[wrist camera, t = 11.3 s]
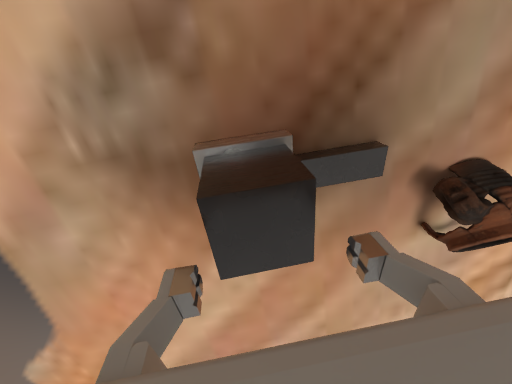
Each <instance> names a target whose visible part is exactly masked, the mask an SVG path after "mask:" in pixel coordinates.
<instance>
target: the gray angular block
mask: <svg viewBox="0 0 512 384" xmlns="http://www.w3.org/2000/svg"><path fill="white" fill-rule="evenodd" d="M282 144H286V145H287V147H288V148H289V149H290V150H291V151H292V152H293V136H292V134H290V133H289V132H288V131H287V130H279V131H273V132H266V133H260V134H253V135H247V136H241V137H234V138H228V139H221V140H215V141H208V142H202V143H195V145H194V148H193V151H192V152H193V155H194V159H195V162H196V166H197V170H198V173H199V177H201V171H202V166H203V160H204V157H206V156H213V155H219V154H225V153H232V152H238V151H244V150H250V149H257V148H263V147H269V146H275V145H282ZM387 150H388V146H387V145H384V144H382V143H380V142H377V141H376V142H370V143H364V144H358V145H352V146H346V147H340V148H334V149H327V150H321V151H315V152H309V153H303V154H297V155H296V156H297V158H298V159H299V160H300V161H301V162H302V163H303V164H304V165H305V166H306V168H307V169H308V170H309V171H310V172H311V173H312V174H313V175H314V176H315V178H316V188H317V187H322V186H328V185H334V184H339V183H345V182H351V181H356V180H362V179H368V178H373V177H379V176H382V175H383V170H384V165H385V160H386V155H387Z"/></svg>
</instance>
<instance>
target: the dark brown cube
mask: <svg viewBox="0 0 512 384" xmlns="http://www.w3.org/2000/svg"><path fill="white" fill-rule="evenodd" d="M315 201H316V178H315V176H314V175H313V174H312V173H311V172H310V171H309V170H308V169H307V168H306V166H305V165H304V164H303V163H302V162H301V161H300V160H299V159H298V158H297V156H296V155H295V154H294V153H293V152H292V151H291V150H290V149H289V148H288V147H287V145H286V144H282V145H275V146H269V147H263V148H257V149H250V150H244V151H238V152H232V153H225V154H219V155H213V156H206V157H204V160H203V166H202V171H201V177H200V182H199V188H198V193H197V203H198V206H199V209H200V213H201V216H202V219H203V223H204V226H205V229H206V232H207V236H208V239H209V242H210V246H211V249H212V252H213V256H214V259H215V262H216V266H217V269H218V272H219V276H220V279H221V280H223V279H228V278H233V277H238V276H243V275H248V274H253V273H258V272H263V271H268V270H273V269H278V268H283V267H288V266H293V265H298V264H303V263H308V262H313V261H314V232H315Z"/></svg>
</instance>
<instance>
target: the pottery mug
mask: <svg viewBox="0 0 512 384" xmlns="http://www.w3.org/2000/svg"><path fill="white" fill-rule="evenodd" d="M449 169H450V171H452V172H454V173H455V174H456V175H457V176H458V177H449V178H444V179H442V180H440V181H439V182H438V183H437V185H436V186H435V187H434V189H433V192H434V193H435V194H436V197H437V198H438V199H439V200H440V201H441V202H442V203H443V205H444V208H445V210H446V211H447V212H448V215H449V216H450V217H451V218H452V219H454V220H455V221H457V222H458V223H460V224H462V225H471V224H473V225H471V226H470V227H469V228H468V229H465V228H463V227H458V228H456V229H455V230H453V231H449V232H447V233H446V234H445V233H438V232H435V231H434V230H433V229H432V228H431V227H430V226H429V225H428V224H427V223H422V224H421V226H422V227H423V228H424V230H425V231H427V233H428V234H429V235H431V236H432V237H433V238H435V239H437V240H438V241H441V242H443V243H445V244H446V246H447V248H448V250H449V251H452V252H464V251H471V250H476V249H481V248H486V247H490V246H495V245H500V244H504V243H508V242H512V177H511V176H510V174H509V173H507V172H506V171H505V170H503V169H501V168H499V167H497V166H495V165H493V164H492V163H491V162H489V161H488V160H481V159H476V160H469V161H465V162H462V163H459V164H456V165H453V166H451V167H450V168H449ZM487 194H489V195H490V196H492V197H493V198H495V199H496V200H497V201H498V202H494V203H491V202H490V201H489V200H487V199H484V198H485V196H486V195H487Z"/></svg>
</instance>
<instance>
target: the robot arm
mask: <svg viewBox="0 0 512 384" xmlns="http://www.w3.org/2000/svg"><path fill="white" fill-rule="evenodd" d="M348 243H349V244H350V245H349V246H348V247H347V252H346V253H347V258H348V260H349V262H350V264H351V265H352V266H353V267H355V268H357V270H356V273H357V274H358V276H359V278H360V279H361V281H362V282H363V283H367V282H373V281H379V280H380V282H381V283H383V284H384V285H385V286H387V287H388V288H390V289H391V290H393V291H394V292H396V293H397V294H398V295H400V296H401V297H403V298H404V299H406V300H407V301H409V302H410V303H412V304H413V305H414V306H416V307H417V310H416V312H415V314H414V317H413V318H408V319H404V320H399V321H394V322H389V323H385V324H380V325H375V326H370V327H365V328H361V329H356V330H351V331H346V332H341V333H337V334H332V335H327V336H322V337H317V338H313V339H308V340H303V341H298V342H294V343H289V344H284V345H279V346H274V347H270V348H265V349H260V350H255V351H251V352H246V353H241V354H236V355H231V356H227V357H222V358H217V359H212V360H208V361H203V362H198V363H193V364H188V365H184V366H179V367H174V368H169V369H167V368H166V366H165V365H164V363H163V362H162V361H161V359H160V357H161V356H162V354H163V352H164V351H165V349H166V347H167V346H168V344H169V342H170V341H171V339H172V338H173V336H174V334H175V333H176V331H177V329H178V328H179V326H180V325H181V323H182V321H183V319H185V318H190V317H194V316H199V315H200V314H201V304H202V302H201V299H200V297H201V295H202V293H203V282H202V278H201V275H199V274H198V267H197V265H191V266H185V267H178V268H173V269H167V270H166V271H165V272H164V275H163V278H162V281H161V285H160V288H159V292H158V295H157V298H156V299H155V300H153V301H152V302H151V303H150V304H149V305H148V306H147V307H146V308H145V309H144V311H143V312H142V313H141V314H140V315H139V316H138V317H137V318H136V319H135V320H134V322H133V323H132V324H131V325H130V326H129V327H128V328H127V329H126V330H125V331H124V333H123V334H122V335H121V336H120V337H119V338H118V339H117V340H116V341H115V342H114V344H113V345H112V346H111V347H110V349H109V352H108V354H107V356H106V359H105V361H104V364H103V366H102V369H101V371H100V374H99V376H98V378H97V381H96V383H95V384H512V297H509V298H504V299H499V300H494V301H490V302H485V301H484V300H483V299H482V298H481V297H480V296H479V295H478V294H476V293H475V292H474V291H473V290H472V289H471V288H470V287H469V286H467V285H466V284H465V283H464V282H463V281H462V280H461V279H460V278H458V277H456V276H454V275H451V274H449V273H447V272H445V271H442V270H440V269H438V268H436V267H433V266H431V265H429V264H427V263H424V262H422V261H420V260H418V259H415V258H413V257H411V256H409V255H406V254H404V253H399V252H398V251H397V250H396V249H395V248H394V247H393V246H392V245H391V244H390V243H389V242H388V241H387V240H386V239H385V238H384V237H383V235H382V234H381V233H380V232H378V231H376V232H370V233H365V234H360V235H355V236H350V237H349V238H348Z"/></svg>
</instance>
